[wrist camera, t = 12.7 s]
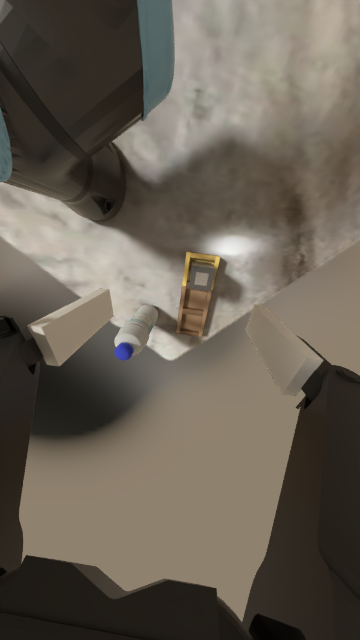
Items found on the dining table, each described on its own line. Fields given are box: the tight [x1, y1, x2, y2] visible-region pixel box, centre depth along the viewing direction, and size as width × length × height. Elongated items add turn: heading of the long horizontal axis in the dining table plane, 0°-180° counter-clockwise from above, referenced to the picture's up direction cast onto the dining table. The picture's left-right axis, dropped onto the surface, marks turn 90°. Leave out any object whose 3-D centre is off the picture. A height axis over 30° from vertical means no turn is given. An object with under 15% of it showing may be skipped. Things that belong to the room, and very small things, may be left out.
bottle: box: [115, 305, 158, 360], centre depth 36 cm, size 7×7×20 cm
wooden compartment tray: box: [176, 252, 220, 337], centre depth 40 cm, size 23×8×3 cm, turn 173°
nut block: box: [188, 260, 216, 292], centre depth 32 cm, size 4×4×10 cm
